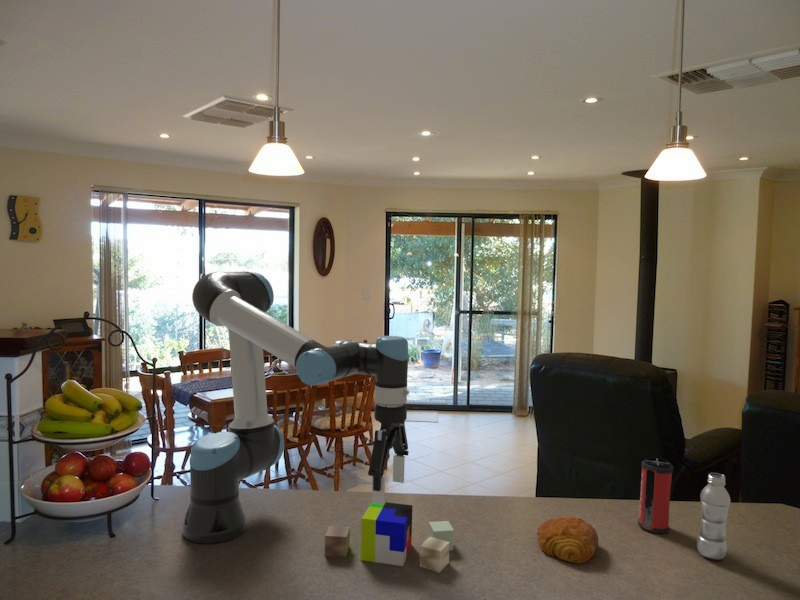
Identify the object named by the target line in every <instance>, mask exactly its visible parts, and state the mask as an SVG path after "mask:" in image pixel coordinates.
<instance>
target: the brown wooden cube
mask: <svg viewBox="0 0 800 600" xmlns="http://www.w3.org/2000/svg"><path fill="white" fill-rule="evenodd" d="M350 535H351V527H350V526H343V525H342V526H341V525H338V526H337V525H328V527H327V531H326V532H325V535H324V557H334V558H335V557H336V558H347V554H348V552H349V549H350V541H351V540H350V538H351V537H350Z"/></svg>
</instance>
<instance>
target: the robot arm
mask: <svg viewBox="0 0 800 600" xmlns="http://www.w3.org/2000/svg"><path fill="white" fill-rule="evenodd" d="M193 287H194V288H193V290H192V294H191V295H192V298H191V299H192V304H193V306H194V308H195V310H196V312H197V313H198V314H199V315H200V316H201V317H202V318H203V319H205V320H206V321H207V322H209V323H210V324H212V325H215V326H216V327H225V328H226V329H227V331H228V341H229V343H228V344H229V354H230V366H231V367H230V369H231V381H232V396H233V397H232V398H233V408H234V409H233V410H234V418H233V420H232V421H231V423H230V424H229V431H218V432H216V433H214V432H212V433H211V432H210V433H207V434H205V435H203V436H201V437H199V438H198V439H196V440H195V441H194V442H193V443H192V445H191V448H190V456H189V457H190V458H189V467H190V468H189V472H190V473H189V475H190V478H189V480H190V481H189V482H190V485H189V487H190V488H189V489H190V490H189V491H190V493H189V494H190V501H189V505H188V508H187V511H186V512H185V513H186V514H185V516H184V520H183V522H182V535H183V537H184V538H185V539H186V540H187V541H189V542H193V543H196V544H197V543H198V544H218V543H222V542H223V543H224V542H226V541H229V540H233V539H234V538H236V537H239V536H240V535H242V533H243V532H244V531H245V530H246V527H247V517H246V515H245V512H244V509H243V508H244V507H243V506H242V502H241V499H240V481H242V480H244V479H247V478H249V477H251V476H253V475H256V474H258V473H260V472H264V471H266V470H268V469H270V468H271V467H272V466H275V465H277V463H278V462H279V461H280V460H281V458H282V457H283V454H284V450H285V439H284V435H283V434H284V433H282V432H281V429H280V428H279V427H278V426H277V425H275V420H274V418H273V417H271V416H270V415H269V414H268V404H267V401H268V400H267V399H268V398H267V389H266V388H267V387H266V375H265V374H266V373H265V362H264V360H265V359H264V351H265V352H267V353H270V354H271V355H273V356H274V357H275V358H278V359H279V360H281V361H283V362H285V363H286V364H288V365H289V366H291V367H293V368H294V369H295V371H296V375H297V377H299V379H300V381H301V382H302V383H304V384H305V385H307V386H317V385H319V386H320V385H324V384H327V383H329V382H332V381H335V380H336V381H337V380H339V379H342V378H345V377H346V378H347V377H349V376H353V375H366V376H372V377H374V379H375V380H374V402H375V404H374V413H373V414H374V417H373V418H374V420H375V421H376V422H379V423H380V428H379V430H378V429H375V431H374V439H373V440H374V441H373V445H372V451H371V456H370V457H371V458H370V462H369V466H368V467H369V468H368V470H367V474H368V476H371V477H372V480H371V482H372V483H371V489H372V490H371V502H372V503H374V504H380V505H384V502H385V497H386V496H385V491H386V490H385V489H386V487H385V486H386V475H384V473H385V470H386V466H387V461H388V458H389V454H390V450H391V449H393V451H394V454H393V456H392V482H394V483H401V484H404V483H405V460H406V459H405V458H406V456H409V450H408V449H409V444H408V443H409V442H408V437H407V433H406V432H407V431H406V427H405V425H406V424H405V422H406V420H407V418H408V417H407V416H408V415H407V412H408V405H407V404H406V403H407V402H408V395H410V391H409V390H408V374H409V373H408V370H409V369H408V368H409V359H410V355H409V342H408V339H406V338H405V337H404V336H398V335H382V336H381V335H380V336H378V337H377V338H376V339H375V343H370V342H363V341H354V340H350V339H348V340H343V339H342V340H336V341H335V342H334V343H333V344H332V345H331V346H326V345H323V344H321V343H320V342H318V341H316V340H314V339H313V338H310V337H309V336H307V335H306V334H304V333H302V332H300V331H299V330H298V329H295V328H293V327H291V326H289V325H288V324H286V323H284V322H283V321H281V320H279V319H277V318H275V317H274V316H272V315H270V314H268V313H267V312H268V311H269V310H270V309H271V307H272V305H273V303H274V299H275V298H274V297H275V295H274V290H273V286H272V284H271V283H270V281H269V280H268V279H267V278H266V277H265V276H264V275H263V274H261V273H259V272H256V271H255V272H254V271H245V270H243V271H223V272H222V271H221V272H219V271H216V272H211V273H208V274H206V275H203V276H202V277H201V278H200V279H199V280H198V281H197V282H196V284H195V285H194V286H193Z"/></svg>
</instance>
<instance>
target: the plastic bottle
mask: <svg viewBox="0 0 800 600" xmlns="http://www.w3.org/2000/svg"><path fill="white" fill-rule="evenodd" d="M726 484H727V483H726V476H725V475H724V474H721V473H718V472H710V473H708V475H707V485H705V487H703V489H702V490H701V492H700V506H701V510H700V511H701V515H700V516H701V518H700V519H701V520H700V527H699V533H698V535H697V539H696V549H697V551H698V552H699V554H700V555H701V556H703V557H705V558H707V559H710V560H716V561H717V560H718V561H719V560H723V559H724V557H726V555H727V552H728V544H727V539H726V538H727V531H726V527H727V519H728V513H729V510H730V506H731V501H732V500H731V497H730V494H729V492H728V491H727V489H726V488H725V486H726Z"/></svg>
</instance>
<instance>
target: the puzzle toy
mask: <svg viewBox="0 0 800 600" xmlns="http://www.w3.org/2000/svg"><path fill="white" fill-rule="evenodd" d="M360 528H361V533H360V561H364V562H369V563H370V562H372V563H379V564H387V565H394V566H399V567H400V566H401V567H404V565H405V563H406V560H407V558H408V554H409V552H410V549H411V547H412V539H413V538H412V537H413V535H412V530H413V505H412V504H404V503H396V502H387V501H386V502H385V501H384V505H380V504H374V503H372V501H371V502H370V504H369V506H368V507H367V509H366V511H364V514H363V515H362V517H361V527H360Z"/></svg>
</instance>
